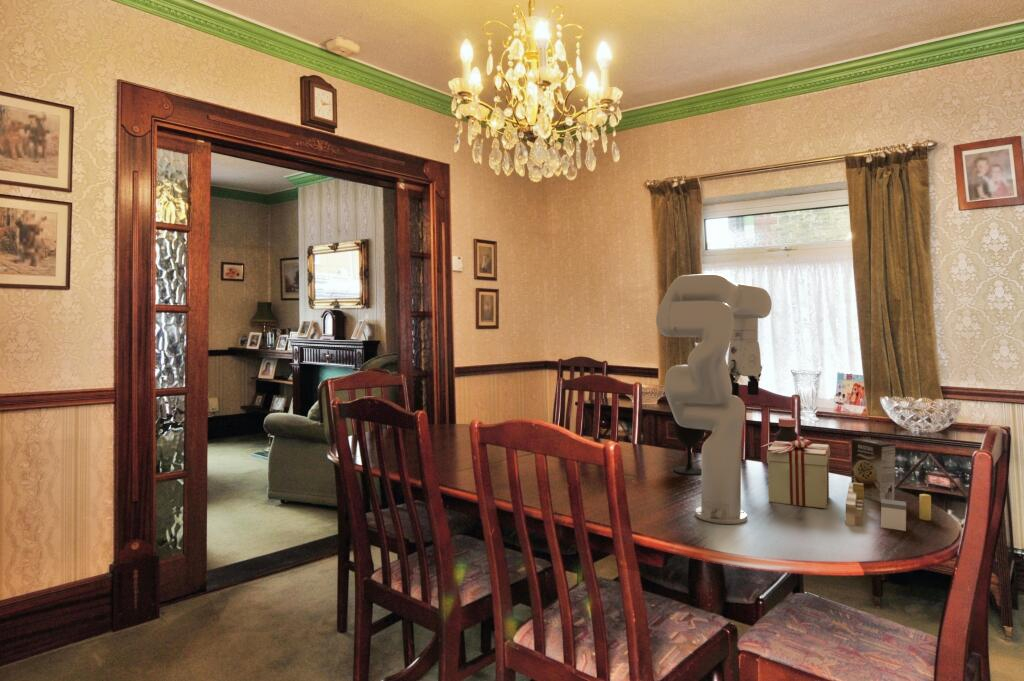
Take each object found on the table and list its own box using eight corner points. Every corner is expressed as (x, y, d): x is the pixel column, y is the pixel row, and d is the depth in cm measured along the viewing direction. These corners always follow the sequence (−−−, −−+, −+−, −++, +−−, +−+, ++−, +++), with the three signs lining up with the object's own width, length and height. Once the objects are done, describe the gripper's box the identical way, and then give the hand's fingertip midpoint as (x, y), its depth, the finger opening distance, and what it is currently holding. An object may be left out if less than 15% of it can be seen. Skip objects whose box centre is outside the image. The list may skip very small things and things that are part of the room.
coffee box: (850, 494, 174) (850, 439, 174) (865, 491, 177) (865, 437, 176) (880, 502, 166) (880, 444, 165) (895, 500, 168) (896, 442, 168)
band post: (931, 520, 150) (931, 497, 150) (919, 519, 151) (919, 495, 151) (930, 518, 152) (930, 494, 152) (919, 516, 153) (919, 493, 153)
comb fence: (861, 526, 146) (862, 497, 146) (845, 524, 148) (845, 495, 147) (863, 502, 166) (864, 476, 166) (849, 500, 168) (849, 475, 168)
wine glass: (679, 466, 209) (679, 409, 209) (709, 470, 203) (709, 411, 203) (668, 472, 201) (668, 412, 201) (699, 476, 195) (699, 415, 194)
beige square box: (906, 531, 143) (906, 506, 142) (880, 527, 145) (881, 502, 145) (905, 526, 146) (905, 501, 146) (880, 522, 149) (881, 498, 149)
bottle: (794, 480, 190) (794, 417, 190) (802, 485, 184) (802, 420, 183) (771, 479, 191) (772, 417, 191) (779, 485, 184) (779, 420, 184)
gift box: (760, 488, 181) (760, 431, 180) (829, 495, 173) (829, 436, 172) (756, 503, 165) (756, 441, 165) (831, 512, 157) (832, 446, 157)
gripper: (737, 336, 166) (737, 398, 166) (772, 336, 176) (772, 395, 176) (714, 336, 172) (713, 396, 172) (749, 336, 182) (748, 393, 182)
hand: (743, 395), depth 174 cm, fingers open, 9 cm apart
